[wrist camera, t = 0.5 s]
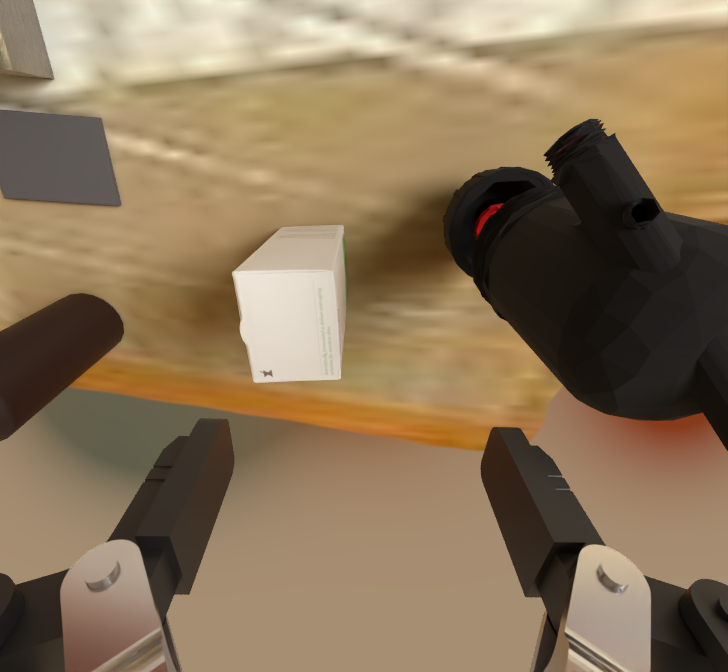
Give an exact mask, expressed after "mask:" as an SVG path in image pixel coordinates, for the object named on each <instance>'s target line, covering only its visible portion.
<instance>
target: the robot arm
mask: <svg viewBox="0 0 728 672" xmlns="http://www.w3.org/2000/svg"><path fill="white" fill-rule="evenodd" d="M233 468H234V452H233V445H232V439H231V433H230V427H229V422H228V420H227V419H204V418H203V419H202V418H201V419H199V420H198V421H197V423H196V425H195V427H194V428H193V430H192V432H191V434H190V436H179V437H177V438H176V439H175V440H174V441H173V442H172V443H170V444H169V445H168V446H167V447H166V448H165V449H164V450H163V451H162V453H161V454H160V456H159V458H158V459H157V461H156V462H155V464H154V468H153V469H151V471H150V472H149V474H148V476H147V477H146V479H145V483H143V484H142V485H141V487H140V489H139V491H138V492H137V494H136V495H135V497H134V499H133V500H132V502H131V504H130V505H129V507H128V509H127V510H126V512H125V513H124V515H123V517H122V518H121V520H120V522H119V523H118V525H117V527H116V528H115V530H114V532H113V533H112V535H111V536H110V538H109V539H108V540H107V542H106V543H103V544H101V545H98V546H97V547H95V548H93V549H91V550H90V551H88V552H87V553H85V554H84V555H83V556H82V557H81V558H79V559H78V560H77V561H76V563H74V565H73V566H72V567H71V568H70V569H67V570H64V571H61V572H58V573H55V574H52V575H48V576H44V577H41V578H38V579H34V580H31V581H28V582H24V583H20V584H17V585H15V583H14V582H13V581H12V580H11V578H10V577H9V576H7V575H5V574H2V573H0V672H183V671H182V668H181V664H180V660H179V657H178V653H177V650H176V646H175V643H174V639H173V636H172V632H171V628H170V625H169V621H168V617H167V611H168V609H169V606H170V603H171V601H172V598H173V596H174V594H190V591H191V588H192V585H193V583H194V580H195V577H196V574H197V572H198V569H199V566H200V563H201V560H202V558H203V555H204V552H205V549H206V546H207V543H208V541H209V538H210V535H211V533H212V530H213V527H214V524H215V521H216V519H217V516H218V513H219V510H220V507H221V505H222V502H223V499H224V496H225V493H226V491H227V488H228V485H229V482H230V480H231V477H232V473H233ZM481 477H482V482H483V484H484V487H485V490H486V493H487V495H488V498H489V501H490V503H491V506H492V509H493V511H494V514H495V517H496V519H497V522H498V525H499V528H500V530H501V533H502V536H503V538H504V541H505V544H506V546H507V549H508V552H509V554H510V557H511V560H512V562H513V565H514V568H515V571H516V573H517V576H518V579H519V581H520V584H521V587H522V589H523V592H524V595H525V597H541V598H542V600H543V602H544V605H545V608H546V610H545V612H544V615H543V618H542V622H541V626H540V630H539V635H538V639H537V643H536V647H535V651H534V655H533V659H532V663H531V668H530V672H728V586H727V585H725V584H723V583H721V582H717V581H714V580H710V579H700V580H697V581H695V582H694V583H693V584H692V585H691V586H690V587H689V589H688V590H687V589H684V588H681V587H678V586H675V585H672V584H668V583H665V582H662V581H659V580H656V579H653V578H650V577H647V576H645V575H643V574H642V573H641V572H640V570H639V569H638V568H637V567H636V566H635V565H634V564H633V563H632V562H631V561H630V560H629V559H628V558H626V557H625V556H624V555H622V554H621V553H619V552H617V551H615V550H613V549H611V548H609V547H607V546H606V545H605V544H604V542H603V541H602V539H601V538H600V536H599V534H598V532H597V531H596V529H595V528H594V526H593V524H592V523H591V521H590V519H589V518H588V516H587V515H586V513H585V511H584V510H583V508H582V506H581V505H580V503H579V502H578V500H577V498H576V497H575V495H574V493H573V492H572V491H570V487H569V485H568V484H567V482H566V480H565V479H564V478H562V474H561V472H560V471H559V469H558V467H557V466H556V464H555V463H554V461H553V459H552V458H551V457H549V456H548V455H547V454H546V453H545V452H544V451H543V450H542V449H541V448H540V447H538V446H531V445H530V444H529V442H528V440H527V438H526V437H525V435H524V433H523V432H522V430H521V429H520V428H510V427H493V428H492V430H491V432H490V435H489V438H488V441H487V445H486V448H485V451H484V454H483V458H482V461H481Z"/></svg>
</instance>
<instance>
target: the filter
mask: <svg viewBox="0 0 728 672" xmlns="http://www.w3.org/2000/svg"><path fill="white" fill-rule="evenodd" d="M597 120H598V119H589V120H587V121H585V122H583V123H581V124H579V125H577V126H575V127H573V128H572V129H570V130H569V131H568V132H566V133H565V134H564V135H563V136H561V137H560V138H559V139H558V140H557V141H556V142H555V143H554V144H553V145H552V147H551V148H550V149H549V150H548V151H547V152H546V153H545V154H544V155H543V156H546V157H547V158H546V160H545V161H550V162H549V164H548V166H551V165H552V168H551V169H553V171H552V173H554V174H553V176H554V177H553V178H552V180H550V179H548V178H547V177H545V176H544V175H542V174H540V173H539V172H536V171H533V170H529V169H525V168H521V167H500V168H498V169H491V170H485V171H483V172H482V173H480V172H479V173H477V174H475V175H474V176H472V179H470V180H468V181H466V182H465V183H464V185H463V186H462V187H461V188H460V189H459V190H456V191H455V192H454V194H453V195H454V196H453V198H452V200H451V202H450V204H449V206H448V208H447V211H446V215H444V216H443V222H444V237H445V240H446V241H445V244H446V246H447V248H448V250H449V251H450V253H451V254H452V256H453V258H454V260H455V262H456V264H457V265H458V266H459V267H460V268H461V269H462V270H463V271H464V272H465V273H466V274H467V275H469V276H471V277H473V281H474V283H475V284H476V286H477V288H478V289H479V291H480V292H481V295H482V297H483V298H485V300H486V301H487V302H488V303H489V304H491V306H492V307H493V310H494V312H495V313H496V314H497V315H498V316H499V317H500V318H502V319H504V320H506V321H507V322H508V323H509V324H510V325H511V326H512V327H513V328H514V330H515V331H516V332H517V333H518V334H519V335H520V336H521V338H522V339H523V340H524V341H525V342H526V343H527V344H528V346H529V347H530V348H531V349H532V350H533V351H534V352H535V354H536V355H537V356H538V357H539V358H540V359H541V360H542V361H543V363H544V364H545V365H546V366H547V367H548V368H549V369H550V371H551V372H552V373H553V374H554V375H555V376H556V377H557V379H558V380H559V381H560V382H561V383H562V384H563V385H564V386H565V388H566V389H567V390H568V391H569V392H570V393H571V394H572V395H573V396H574V397H575V398H576V399H578V400H579V401H581V402H583V403H584V404H586V405H588V406H590V407H592V408H594V409H596V410H598V411H600V412H603V413H605V414H608V415H613V416H618V417H625V418H630V419H635V420H652V421H660V420H676V419H680V418H683V417H687V416H691V415H694V414H699V413H702V412H703V413H704V415H705V416H706V418H707V420H708V421H709V423H710V424H711V426H712V427H713V429H714V431H715V432H716V434H717V435H718V437H719V438H720V440H721V442H722V443H723V445H724V446H725V448H726V449H727V451H728V225H724V224H719V223H715V222H710V221H706V220H701V219H696V218H692V217H687V216H683V215H678V214H674V213H669V212H664V211H663V209H662V208H661V206H660V205H659V203H658V202H657V200H656V198H655V197H654V195H653V194H652V192H651V191H650V189H649V188H648V186H647V185H646V183H645V181H644V180H643V178H642V177H641V175H640V174H639V172H638V171H637V169H636V168H635V166H634V164H633V163H632V161H631V160H630V158H629V157H628V155H627V154H626V152H625V151H624V149H623V147H622V146H621V144H620V143H619V141H618V140H617V138H616V136H615V133H614V134H612V135H611V136H609V137H608V136H607V135H606V134H605V132H604V130H605V129H606V128H605V129H601V128H602V126H603V124H604V123H602V124H599V123H600V122H601V120H600V121H597ZM553 183H554V184H555V185H557V186H554V185H553Z"/></svg>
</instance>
